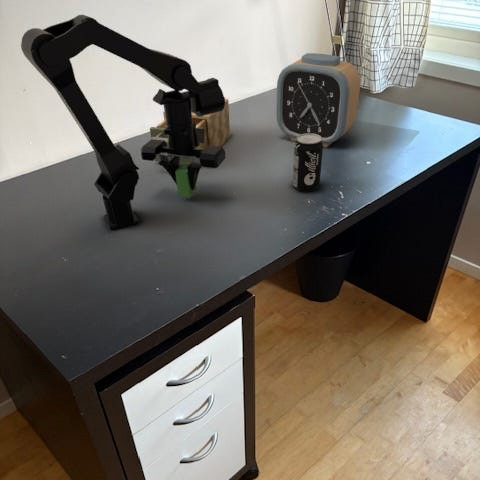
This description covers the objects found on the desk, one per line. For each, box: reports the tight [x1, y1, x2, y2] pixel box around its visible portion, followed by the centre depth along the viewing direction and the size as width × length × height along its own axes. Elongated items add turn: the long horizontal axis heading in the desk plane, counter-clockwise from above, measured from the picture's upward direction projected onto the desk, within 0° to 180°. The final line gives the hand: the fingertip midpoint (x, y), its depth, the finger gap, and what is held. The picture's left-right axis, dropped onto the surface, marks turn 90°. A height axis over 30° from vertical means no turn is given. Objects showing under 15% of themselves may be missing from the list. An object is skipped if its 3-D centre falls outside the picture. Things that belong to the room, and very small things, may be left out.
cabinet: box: [162, 98, 231, 147], centre depth 136 cm, size 15×14×11 cm
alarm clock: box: [275, 52, 361, 148], centre depth 132 cm, size 21×10×22 cm, turn 58°
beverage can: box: [292, 133, 324, 193], centre depth 113 cm, size 7×7×12 cm
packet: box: [175, 164, 197, 199], centre depth 112 cm, size 3×4×6 cm
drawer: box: [149, 118, 209, 165], centre depth 128 cm, size 18×12×9 cm
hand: (186, 188), depth 113 cm, fingers closed on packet, 3 cm apart
